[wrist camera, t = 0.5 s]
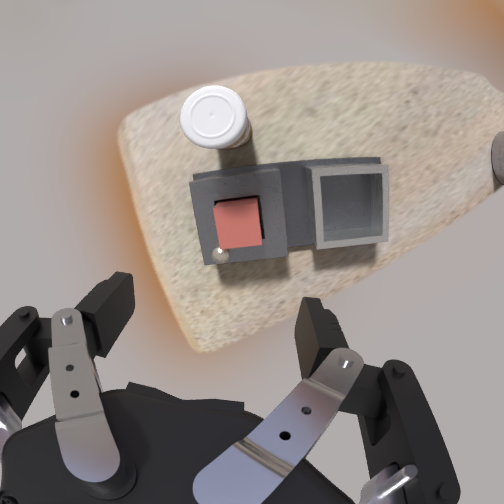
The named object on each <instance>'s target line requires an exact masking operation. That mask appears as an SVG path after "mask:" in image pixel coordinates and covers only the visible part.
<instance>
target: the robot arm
mask: <svg viewBox="0 0 504 504" xmlns="http://www.w3.org/2000/svg"><path fill="white" fill-rule="evenodd" d="M492 164H493V169H494V173H495V175H496V177H497V179H498V181H499V182H500V183H501V184H502V185H504V132H500V133H498V134H497V136H496V137H495V139H494V142H493V146H492ZM134 309H135V296H134V285H133V276H132V274H130V273H124V272H115V274H113V275H112V276H111V277H110V278H109V279H108V280H104V281H102V282H100V283H99V284H97V285H96V286H95V287H94V288H93V289H92V291H90V292H89V293H88V295H86V296H85V297H84V298H83V300H81V302H80V303H79V304H78V305H77V306H76V307H75V308H74V309H72V308H65V309H62V310H59V311H57V312H56V313H55V314H54V315H53V317H52V318H39V315H38V312H37V310H36V308H34V307H31V306H25V307H21V308H19V309H17V310H16V311H15V312H14V313H13V314H12V315H11V316H10V317H9V318H8V319H7V320H6V321H5V322H4V323H3V324H2V325H1V326H0V463H1V464H2V480H1V488H0V504H355V503H354V502H353V500H352V499H351V498H349V497H348V496H347V495H346V494H345V493H344V492H342V491H341V490H340V489H339V488H338V487H336V486H335V485H334V484H333V483H331V481H329V480H328V479H327V478H326V477H325V476H324V475H323V474H322V473H321V472H319V471H318V470H317V469H316V468H315V467H314V466H313V465H312V464H311V463H309V461H308V460H306V456H307V455H308V454H309V452H310V451H311V450H312V449H313V447H314V446H315V444H316V443H317V441H318V440H319V439H320V437H321V436H322V434H323V433H324V432H325V430H326V429H327V427H328V426H329V424H330V423H331V422H332V420H333V419H334V417H335V416H336V414H337V412H338V411H342V412H347V413H351V414H356V415H357V416H358V420H359V425H360V430H361V435H362V439H363V444H364V449H365V454H366V459H367V464H368V470H369V475H370V480H369V481H368V482H367V483H366V484H365V485H364V486H363V488H362V490H361V499H360V502H359V504H457V503H458V501H459V499H460V486H459V483H458V480H457V477H456V473H455V470H454V467H453V464H452V461H451V459H450V456H449V453H448V450H447V448H446V445H445V443H444V440H443V437H442V435H441V433H440V430H439V427H438V425H437V423H436V420H435V418H434V415H433V413H432V411H431V409H430V406H429V404H428V402H427V400H426V398H425V395H424V393H423V391H422V389H421V387H420V384H419V382H418V380H417V379H416V376H415V374H414V372H413V370H412V369H411V367H410V366H409V365H408V364H406V363H404V362H402V361H399V360H388V361H387V362H385V364H384V365H383V367H382V368H379V367H375V366H370V365H366V364H364V361H363V359H362V357H361V356H360V355H359V354H358V353H357V352H355V351H353V350H351V349H349V347H348V344H347V342H346V339H345V337H344V334H343V332H342V331H341V327H340V325H339V322H338V320H337V318H336V316H335V315H334V314H333V313H332V312H331V311H330V310H328V309H324V308H323V306H322V303H321V300H320V299H319V298H311V297H303V299H302V301H301V305H300V309H299V313H298V317H297V321H296V325H295V341H296V347H297V353H298V359H299V364H300V370H301V376H302V381H301V382H300V383H299V384H298V385H297V387H295V389H294V390H293V391H292V392H291V393H290V394H289V395H288V396H287V397H286V398H285V399H284V400H283V401H282V402H281V403H280V404H279V405H278V406H277V408H276V409H274V410H273V411H272V412H271V413H270V414H269V416H267V417H266V419H263V418H261V417H259V416H257V415H255V414H253V413H251V412H248V411H245V410H244V402H238V401H228V400H219V399H202V400H182V399H179V398H177V397H174V396H172V395H170V394H167V393H165V392H163V391H161V390H158V389H156V388H152V387H148V386H144V385H140V384H136V383H132V382H129V383H128V385H127V387H126V389H116V390H110V391H106V392H103V389H102V386H101V383H100V380H99V376H98V373H97V369H96V366H95V362H94V358H95V356H96V355H97V356H100V357H104V358H106V356H107V354H108V353H109V351H110V349H111V348H112V346H113V344H114V343H115V341H116V340H117V338H118V336H119V335H120V333H121V332H122V330H123V329H124V327H125V325H126V324H127V322H128V321H129V319H130V318H131V316H132V314H133V312H134ZM22 348H24V350H25V353H26V356H25V358H24V359H23V360H22V362H21V363H20V365H19V366H18V367H17V369H16V367H15V358H16V356H17V355H18V353H19V352H20V351H21V350H22ZM49 373H50V378H51V386H52V394H53V401H54V407H55V413H56V414H55V415H53V416H51V417H49V418H46V419H44V420H42V421H40V422H37V423H35V424H33V425H31V426H28V427H26V428H23V429H22V423H21V422H22V419H23V418H24V416H25V414H26V412H27V410H28V409H29V406H30V405H31V403H32V401H33V400H34V398H35V396H36V394H37V392H38V391H39V389H40V387H41V386H42V384H43V382H44V381H45V379H46V377H47V376H48V374H49Z"/></svg>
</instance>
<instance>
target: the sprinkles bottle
mask: <svg viewBox="0 0 504 504" xmlns="http://www.w3.org/2000/svg"><path fill="white" fill-rule="evenodd" d="M180 123H181V128H182V130H183V132H184V134H185V136H186V137H187V138H188V139H189V140H190V141H191V142H192V143H194V144H196V145H198V146H200V147H203V148H208V149H220V148H228V149H235V148H238V147H241V146H242V145H244V144H245V143H246V142H247V141H248V140H249V138H250V135H251V132H252V129H251V123H250V121H249V119H248V117H247V110H246V107H245V105H244V103H243V101H242V99H241V98H240V97H239V95H238V94H236V93H235V92H234V91H232V90H231V89H229V88H226V87H223V86H207V87H204V88H201V89H199V90H197V91H195V92H194V93H193V94H192V95H190V96H189V97H188V99H187V100H186V101H185V103H184V105H183V107H182V110H181V114H180Z"/></svg>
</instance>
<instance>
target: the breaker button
mask: <svg viewBox="0 0 504 504" xmlns="http://www.w3.org/2000/svg"><path fill="white" fill-rule="evenodd" d="M213 211H214V217H215V223H216V229H217V234H218V240H219V246H220V250H221V249H230V248H239V247H248V246H257V245H262V228H261V219H260V211H259V203H258V195H254V196H246V197H238V198H230V199H223V200H219V201H218V203H217V204H216V205H215V207H214V208H213Z"/></svg>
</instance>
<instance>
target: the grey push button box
mask: <svg viewBox="0 0 504 504" xmlns="http://www.w3.org/2000/svg"><path fill="white" fill-rule="evenodd" d="M193 179H194V180H193V181H191V182H189V186H190V192H191V197H192V203H193V209H194V214H195V219H196V225H197V230H198V235H199V240H200V245H201V250H202V255H203V260H204V265H212V264H224V263H231V262H241V261H250V260H259V259H269V258H278V257H287V256H288V248H287V247H293V246H303V245H312V244H314V245H315V247H316V249H317V250H318V249H327V248H335V247H344V246H353V245H362V244H371V243H379V242H388V235H389V172H388V165H382V164H381V162H380V157H352V158H330V159H314V160H300V161H289V162H278V163H269V164H260V165H252V166H244V167H236V168H229V169H222V170H216V171H209V172H203V173H197V174H193ZM254 195H258V203H259V211H260V219H261V228H262V245H257V246H248V247H239V248H230V249H221V250H220V246H219V240H218V234H217V229H216V223H215V217H214V211H213V208H214V207H215V205H216V204H217V203H218V201H219V200H223V199H230V198H238V197H246V196H254Z"/></svg>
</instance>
